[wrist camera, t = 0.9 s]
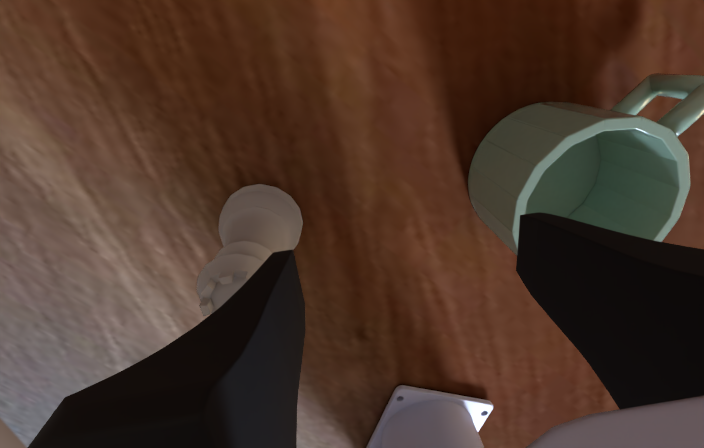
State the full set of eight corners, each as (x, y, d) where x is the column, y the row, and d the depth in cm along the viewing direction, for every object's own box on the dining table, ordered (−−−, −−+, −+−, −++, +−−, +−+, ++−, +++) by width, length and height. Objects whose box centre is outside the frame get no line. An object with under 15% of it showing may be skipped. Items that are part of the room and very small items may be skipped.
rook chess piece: (206, 218, 21) (145, 306, 13) (260, 164, 20) (226, 227, 12) (266, 267, 22) (241, 369, 15) (319, 219, 21) (320, 304, 14)
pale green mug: (521, 257, 24) (575, 311, 19) (439, 180, 21) (477, 219, 16) (674, 125, 21) (787, 147, 16) (602, 17, 18) (710, 2, 13)
